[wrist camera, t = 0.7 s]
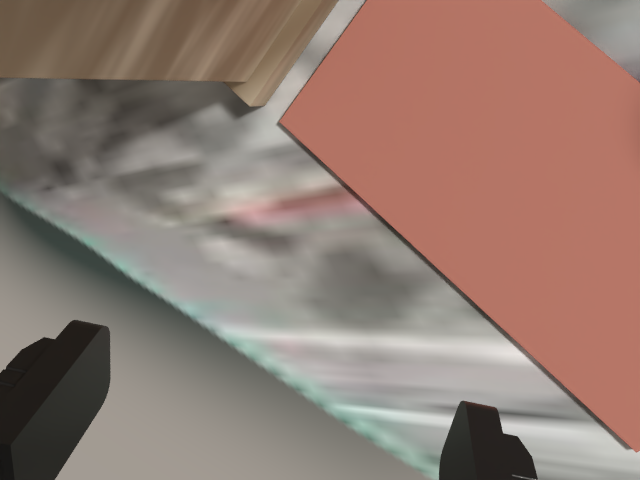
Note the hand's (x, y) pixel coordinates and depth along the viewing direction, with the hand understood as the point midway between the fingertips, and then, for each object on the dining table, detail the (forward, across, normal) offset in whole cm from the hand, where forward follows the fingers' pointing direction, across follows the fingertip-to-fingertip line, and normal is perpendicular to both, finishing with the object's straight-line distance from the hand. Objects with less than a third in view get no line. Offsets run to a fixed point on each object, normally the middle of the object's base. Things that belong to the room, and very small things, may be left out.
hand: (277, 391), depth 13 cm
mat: (+21, -11, +1) cm, 23 cm away
